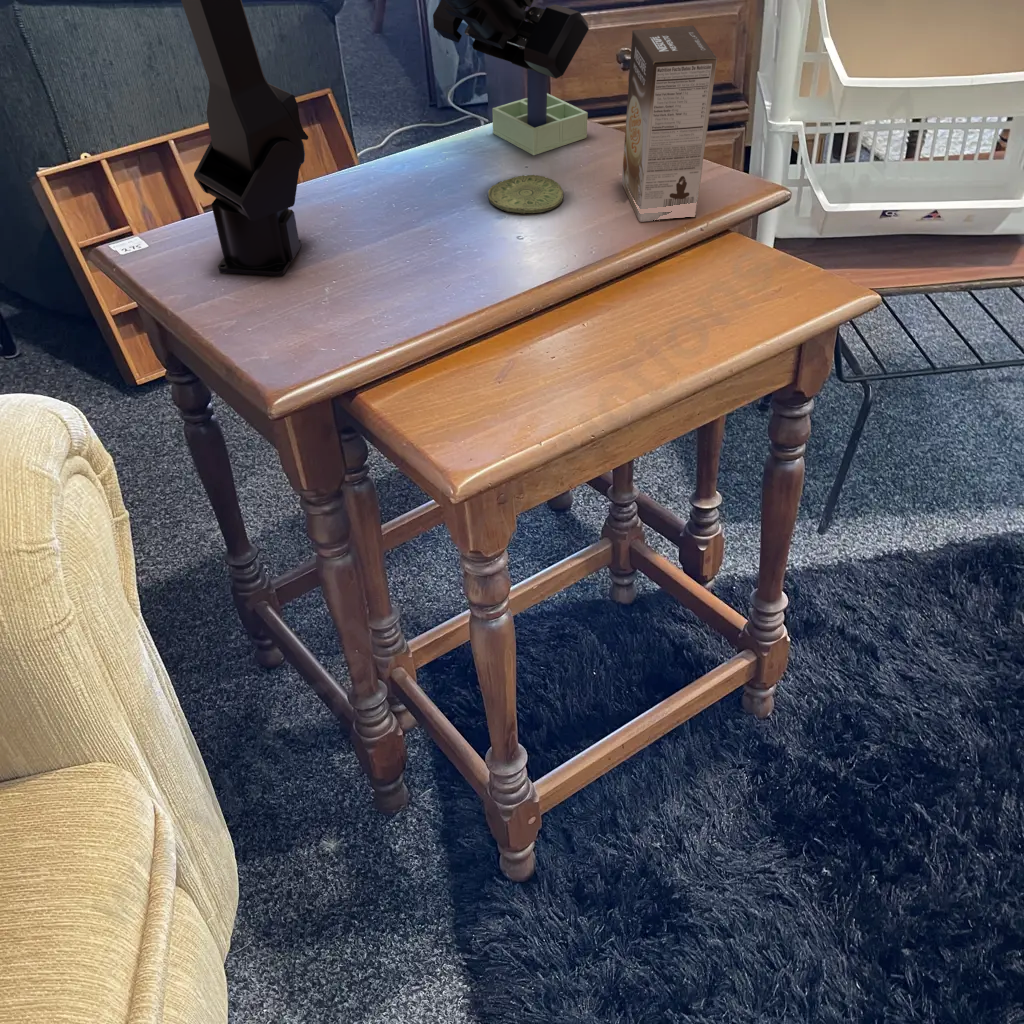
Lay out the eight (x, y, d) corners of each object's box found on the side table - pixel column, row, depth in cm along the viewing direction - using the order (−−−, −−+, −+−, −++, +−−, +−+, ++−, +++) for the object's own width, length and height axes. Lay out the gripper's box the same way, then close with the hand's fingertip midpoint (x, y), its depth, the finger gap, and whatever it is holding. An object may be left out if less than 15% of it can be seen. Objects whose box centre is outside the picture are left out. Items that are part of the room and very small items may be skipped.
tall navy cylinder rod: (533, 135, 113) (533, 24, 105) (524, 128, 114) (523, 18, 106) (549, 131, 114) (551, 20, 105) (540, 125, 115) (541, 14, 107)
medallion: (578, 194, 105) (578, 188, 105) (530, 221, 101) (530, 214, 100) (521, 173, 109) (521, 167, 109) (473, 198, 105) (472, 192, 104)
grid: (533, 155, 113) (533, 129, 111) (492, 133, 118) (492, 108, 115) (586, 137, 116) (587, 112, 114) (545, 116, 121) (545, 92, 119)
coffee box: (619, 184, 107) (629, 27, 96) (676, 180, 108) (693, 23, 97) (638, 223, 101) (652, 60, 90) (699, 219, 101) (720, 56, 90)
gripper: (579, -79, 91) (647, 21, 104) (447, -111, 101) (524, -16, 114) (518, 32, 92) (593, 117, 106) (394, -10, 102) (476, 72, 115)
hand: (546, 68), depth 110 cm, fingers closed on tall navy cylinder rod, 2 cm apart
